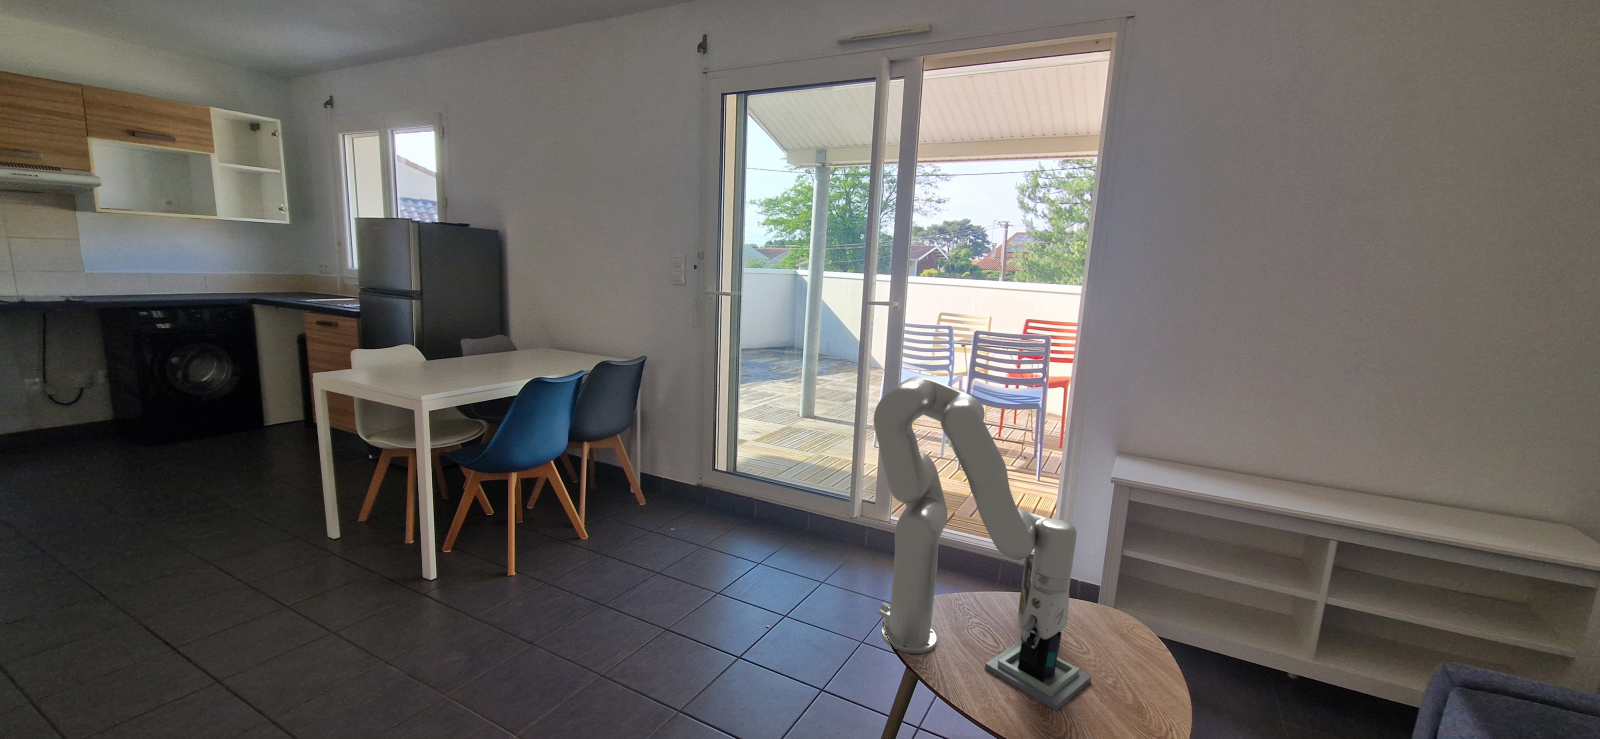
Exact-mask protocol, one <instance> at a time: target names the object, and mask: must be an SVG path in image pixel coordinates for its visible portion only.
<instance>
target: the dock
mask: <svg viewBox="0 0 1600 739" xmlns="http://www.w3.org/2000/svg"><path fill="white" fill-rule="evenodd" d="M1021 643H1022V640H1021V639H1020V640H1019V641H1018V642H1016V643H1015V644H1013V645H1011V646H1010V647H1008V648H1007V649H1006V650H1003V651H1002V652H1001V653H999V654H997V655H996V656H994V657H992V658H991V659H989V660H988V661H987V662H985V663H984V664H985V665H984V669H985V670H986V671H989V672H990V673H991V674H994V675H995V676H997V677H999V678H1000V679H1002V680H1004V681H1006V682H1007V683H1009V684H1010V685H1012V686H1013V687H1016V688H1017V689H1019V690H1020V691H1022V692H1023V693H1025V694H1027V695H1028V696H1030V697H1032V698H1034V699H1036V700H1037V701H1039V702H1040V703H1042V704H1044V705H1046V706H1047V707H1049V708H1051V709H1052V710H1054V711H1058V710H1059V709H1060V708H1061V707H1063V705H1065V704H1066V703H1067V702H1068V701H1070V700H1071V699H1072V698H1073V697H1074V696H1075V695H1076V694H1078V693H1079V692H1080V691H1082V690H1083V689H1084V688H1085V687H1086V686H1087V685H1089V684H1090V683H1091V681H1092V675H1090V674H1088V673H1086V672H1084V671H1082V670H1080V668H1079V667H1077V666H1075V665H1073V664H1071V663H1069V662H1068V661H1065V660H1063V659H1062V658H1059V657H1058V656H1057V662H1056V668H1055V674H1054V676H1052V677H1044V682H1041V681H1039V680H1037V679H1035V678H1034V677H1032V676H1030V675H1028V674H1027V673H1025V672H1023V671H1021V670H1020V669H1018V663H1019V657H1020V650H1021Z"/></svg>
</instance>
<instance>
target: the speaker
mask: <svg viewBox="0 0 1600 739" xmlns="http://www.w3.org/2000/svg"><path fill="white" fill-rule="evenodd" d="M1032 630H1033V631H1035V632H1037V629H1035V628H1033V629H1032ZM1037 633H1038V632H1037ZM1035 637H1036V636H1035V635H1033V634H1031V633H1030V638H1031V639H1032V640H1033V641H1034V639H1035ZM1059 643H1060V644H1061V640H1060V636H1059V635H1057V634H1055V635H1053V636H1052V637H1050V638H1048V639H1046V640H1044V639H1042V638H1040V640H1039V642H1038V645H1037V648H1038V654H1037V662H1036V665H1035V666H1032V665H1031V664H1029V663H1027V662H1025V661H1023V660H1022V659H1021V651H1022V643H1021V650H1020V657H1019V663H1018V669H1020V670H1021V671H1023V672H1025V673H1027V674H1028V675H1030V676H1032V677H1034V678H1035V679H1037V680H1039V681H1041V682H1044V677H1052V676H1054V674H1055V668H1056V662H1057V657H1058V655H1059V649H1060V647H1059Z"/></svg>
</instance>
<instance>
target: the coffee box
mask: <svg viewBox="0 0 1600 739" xmlns="http://www.w3.org/2000/svg"><path fill="white" fill-rule="evenodd" d="M1033 557H1034V553H1031V554H1030V555H1029V556H1028V557H1026V558H1024V564H1023V572H1022V579H1021V581H1022V582H1021V589H1020V598H1019V606H1018V615H1019V618H1020V622H1021V626H1022V627H1023V626H1024V624H1025V614H1026V608H1027V603H1028V598H1029V594H1030V590H1031V587H1032V584H1031V582H1030V580H1031V572H1032V565H1033Z"/></svg>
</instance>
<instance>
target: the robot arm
mask: <svg viewBox="0 0 1600 739" xmlns="http://www.w3.org/2000/svg"><path fill="white" fill-rule="evenodd" d="M875 407H876V408H875V410H874V415H873V426H874V432H875V436H876V440H877V443H878V448H879V452H880V456H881V460H882V465H883V469H884V474H885V477H886V482H887V485H888V489H889V491H890V494H892V496H893V498H894V499H895V500H896V501H898V502H900V503H902V504H905V509H904V510H903V512H902V513H901V515H900V517H899V518H898V520H897V522H896V525H895V530H894V531H895V532H894V561H893V564H894V565H893V573H892V574H893V575H892V584H891V594H890V596H891V597H890V605H889V604H887V603H885V602H882V604H881V605H880V609H879V610H878V611H877V615H878V616H880V617H882V618H883V619H884V620H885V621H884V623H883V624H882V626H881V630H880V631H881V632H880V634H881V637H882V639H883V641H884V642H885V643H886V644H887V645H888V646H889V647H891V648H893V647H894V648H893V649H895V650H897V649H898V650H897V651H899V652H902V653H907V654H915V655H916V654H917V655H919V654H925V653H928V652H929V651H932V650H933V649H934V648H935V647H936V645H937V642H938V641H937V640H938V638H937V634H936V631H934V630H933V629H932V620H933V611H934V602H935V601H934V600H935V599H934V598H935V592H936V582H937V581H936V580H937V571H938V557H939V556H938V554H939V544H940V539H941V535H942V533H943V531H944V529H945V526H946V525H947V522H948V507H947V504H946V500H945V494H944V492H943V488H942V485H941V480H940V477H939V476H940V475H939V472H938V469H937V467H936V464H935V463H934V461H933V460H932V458H931V457H930V456H929V455H927V454H926V453H925V452H923V451H920V449H919V444H918V439H917V437H916V434H915V432H914V430H913V423H914V422H915V421H917V419H918V418H920V417H922V416H925V417H928V418H931V419H933V420H935V421H937V422H940V426H941V429H942V431H943V433H944V435H945V438H946V439H947V441H948V443H949V445H950V448H951V449H952V451H953V453H954V455H955V457H956V458H957V460H958V462H959V464H960V467H961V468H962V469H961V470H962V471H963V473H964V474H965V477H966V479H967V481H968V485H969V488H970V491H971V493H972V497H973V499H974V503H975V505H976V508H977V511H978V513H979V516H980V519H981V521H982V523H983V525H984V527H985V529H986V531H987V533H988V535H989V537H990V540H991V541H992V543H993V544H994V546H995V548H996V549H997V550H998V552H1000V554H1001V555H1002V556H1004V557H1005V558H1007V559H1009V560H1013V561H1021V560H1025V558H1026V557H1028V556H1029V555H1030V554H1034V557H1033V565H1032V572H1031V580H1030V582H1031V584H1032V587H1031V590H1030V594H1029V598H1028V603H1027V608H1026V614H1025V624H1024V626H1022V628H1021V629H1020V641H1021V640H1022V651H1021V659H1022V660H1023V661H1025V662H1027V663H1029V664H1031V665H1032V666H1035V665H1036V662H1037V654H1038V648H1037V645H1038V642H1039V640H1040V638H1042V639H1044V640H1046V639H1048V638H1050V637H1052V636H1053V635H1055V634H1057V635H1059V636H1060V641H1061V640H1062V639H1061V638H1062V633H1063V632H1062V631H1063V629H1065V628H1066V626H1067V624H1068V623H1067V622H1068V615H1069V606H1070V605H1069V604H1070V585H1071V584H1070V583H1071V579H1072V578H1071V577H1072V571H1073V570H1072V569H1073V564H1074V563H1073V562H1074V556H1075V549H1076V542H1077V530H1076V528H1075V526H1074V525H1073V524H1071V523H1069V522H1068V521H1066V520H1062V519H1059V518H1048V517H1045V516H1041V515H1039V514H1036V513H1034V512H1033V513H1032V512H1030V511H1028V510H1024V509H1020V508H1018V507H1017V505H1016V502H1015V501H1014V500H1015V499H1014V497H1013V495H1012V490H1011V487H1010V483H1009V476H1008V469H1007V465H1006V463H1005V459H1004V458H1003V456H1002V454H1001V452H1000V450H999V448H998V447H997V444H996V442H995V441H994V439H993V437H992V435H991V433H990V430H989V429H988V427H987V425H986V423H985V414H986V413H985V409H984V408H985V407H984V406H983V405H982V403H981V402H980V401H979V399H977V398H975V397H974V396H972V395H970V394H968V393H965V392H962V391H961V390H958V389H955V388H953V387H951V386H947V385H946V384H943V383H941V382H938V381H935V380H933V379H930V378H928V377H924V376H913V377H910V378H907V379H905V380H904V381H901V382H900V383H899V384H897V385H896V386H894V387H892V388H891V389H890V390H889V391H887V392H886V393H885V395H883V396H882V398H881V399H880V400H879V401H878V403H877V405H876V406H875ZM884 626H885V629H886V632H887V635H888V637H889V640H890V641H891V644H892V645H893V647H892V646H891V644H890V642H889V640H888V638H887V636H886V633H885V630H884ZM1033 628H1035V629H1037V632H1038V633H1037V632H1035V631H1033V630H1032V629H1033ZM1030 633H1031V634H1033V635H1035V636H1036V637H1035V639H1034V641H1033V640H1032V639H1031V638H1030ZM1060 647H1061V642H1060V643H1059V648H1060Z"/></svg>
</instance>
